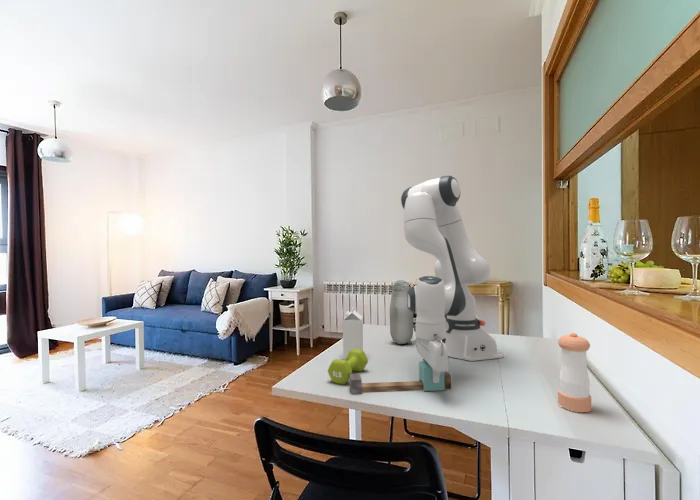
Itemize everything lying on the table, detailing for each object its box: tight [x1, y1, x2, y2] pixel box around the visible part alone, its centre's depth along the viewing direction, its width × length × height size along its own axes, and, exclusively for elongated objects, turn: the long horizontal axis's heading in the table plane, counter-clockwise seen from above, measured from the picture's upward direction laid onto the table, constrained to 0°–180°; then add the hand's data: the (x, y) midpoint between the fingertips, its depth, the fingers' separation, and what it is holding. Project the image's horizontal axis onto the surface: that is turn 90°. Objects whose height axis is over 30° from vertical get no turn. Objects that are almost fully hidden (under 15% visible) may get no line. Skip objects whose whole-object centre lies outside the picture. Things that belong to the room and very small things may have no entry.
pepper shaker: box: [557, 332, 592, 413], centre depth 90 cm, size 7×7×19 cm
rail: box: [349, 371, 452, 395], centre depth 103 cm, size 30×5×4 cm, turn 94°
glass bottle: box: [389, 279, 414, 345], centre depth 154 cm, size 10×10×28 cm
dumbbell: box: [327, 349, 369, 385], centre depth 114 cm, size 16×8×7 cm, turn 153°
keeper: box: [418, 360, 446, 392], centre depth 104 cm, size 6×6×7 cm
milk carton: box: [342, 306, 364, 360], centre depth 135 cm, size 7×7×19 cm
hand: (431, 377), depth 104 cm, fingers open, 6 cm apart
